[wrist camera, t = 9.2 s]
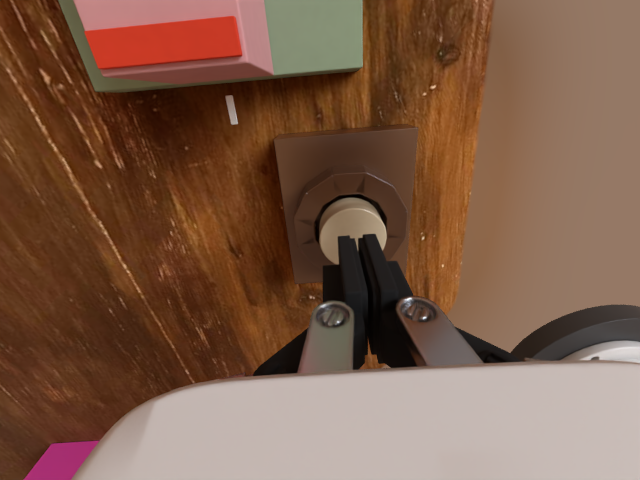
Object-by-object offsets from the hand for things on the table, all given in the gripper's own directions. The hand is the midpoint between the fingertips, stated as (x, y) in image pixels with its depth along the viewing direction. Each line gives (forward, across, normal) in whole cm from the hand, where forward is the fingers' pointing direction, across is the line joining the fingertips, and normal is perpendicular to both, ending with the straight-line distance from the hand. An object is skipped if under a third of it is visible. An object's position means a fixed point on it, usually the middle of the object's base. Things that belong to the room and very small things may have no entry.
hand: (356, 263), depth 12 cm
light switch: (+8, 0, 0) cm, 8 cm away
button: (+4, 0, 0) cm, 4 cm away
